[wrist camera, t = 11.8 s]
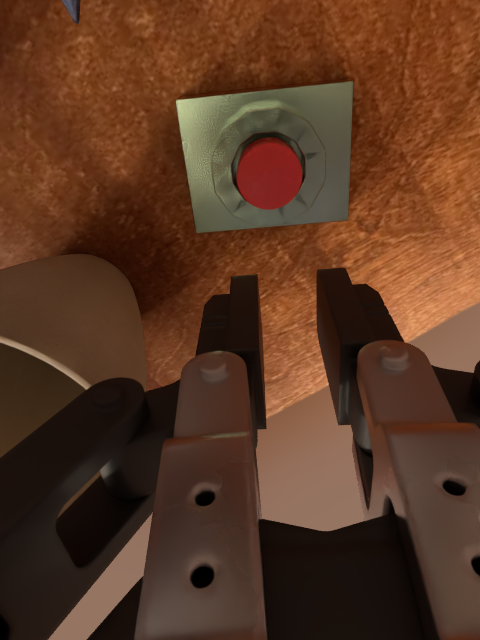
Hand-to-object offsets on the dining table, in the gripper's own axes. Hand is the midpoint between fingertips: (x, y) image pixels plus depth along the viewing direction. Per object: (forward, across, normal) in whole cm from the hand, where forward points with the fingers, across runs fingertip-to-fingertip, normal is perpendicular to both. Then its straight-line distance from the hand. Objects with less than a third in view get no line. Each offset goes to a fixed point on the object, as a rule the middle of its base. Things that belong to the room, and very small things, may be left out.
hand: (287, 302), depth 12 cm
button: (+15, 0, 0) cm, 15 cm away
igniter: (+19, 0, 0) cm, 19 cm away
